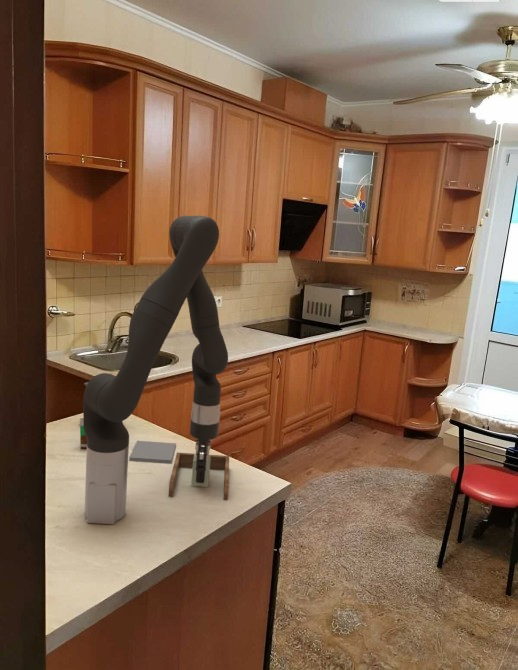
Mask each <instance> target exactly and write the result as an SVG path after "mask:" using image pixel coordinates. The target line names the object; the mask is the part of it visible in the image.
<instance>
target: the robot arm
mask: <svg viewBox="0 0 518 670" xmlns="http://www.w3.org/2000/svg"><path fill="white" fill-rule="evenodd" d="M168 235H169V241H170V245H171V248H172V252H173V256H174V257H175V258H174V259H173V261H172V262H171V264H170V265H169V267H167V269H166V270H165V271H164V272H163V273H161V274H160V276H158V277H157V278H156V279H155V280H154V281H153V282H151V284H150V285H149V286H148V287H147V288H146V290H145V291H144V292H143V294H142V296H141V297H140V299H139V301H138V303H137V304H136V307H135V309H134V310H133V312H132V315H131V318H130V321H129V325H128V340H127V341H128V342H127V351H126V354H125V358H124V360H123V361H122V362H123V363H122V365H121V366H120V368H119V371H118V372H117V374H116V375H113V374H112V373H108V372H103V373H98V374H96V375H94V376H93V377H92V378H91V379H90V380H89V381H87V382H88V384H87V386H85V389H84V393H83V397H82V398H83V399H82V401H83V402H82V403H83V404H82V406H83V407H82V408H83V409H82V411H83V414H82V415H83V422H84V432H85V435H86V438H87V449H86V459H85V487H84V488H85V491H84V493H85V495H84V517H85V518H86V523H88V524H99V525H100V524H103V525H115V524H116V522H118V521H120V520H121V519H123V518H124V516H125V515H126V512H127V511H126V510H127V509H126V508H127V488H128V471H129V470H128V468H129V452H130V451H129V449H130V434H129V431H128V429H127V427H126V426H125V424H124V421H126V419H128V418H129V417H130V416H131V415H132V414H133V413H134V411H135V409H136V408H137V406H138V404H139V402H140V400H141V398H142V397H141V396H142V394H143V392H144V390H145V386H146V384H147V381H148V378H149V376H150V374H151V371H152V368H153V366H154V365H155V362H156V360H157V358H158V356H159V354H160V352H161V349H162V347H163V346H164V342H165V341H166V339H167V338H168V335H169V334H170V332H171V330H172V328H173V326H174V324H175V322H176V319H177V318H178V316H179V313H180V311H181V309H182V307H183V305H184V303H185V302H186V300H187V307H188V313H189V319H190V325H191V329H192V334H193V335H194V337H195V338H196V339H197V341H198V343H199V344H197V345H196V346H195V347H194V349H193V351H192V355H191V369H192V378H193V383H194V388H193V396H192V397H193V398H192V400H193V401H192V405H191V416H190V425H189V427H190V428H189V434H190V436H191V437H192V438H194V439H196V441H195V447H194V449H195V454H196V456H195V460H196V461H197V462H196V471H197V473H196V482H197V483H204V478H205V470H206V462H207V461H208V458H209V455H210V451H211V445H212V440H214V439H217V437H218V436H219V429H220V418H221V395H222V385H221V383H220V381H219V380H218V378H217V375H220V374H222V373H224V371H225V370H226V369H227V366H228V364H229V352H228V349H227V345H226V343H225V338H224V336H223V333H222V331H221V328H220V319H219V312H218V305H217V301H216V298H215V296H214V294H213V291H212V289H211V287H210V285H209V284H208V281H207V279H206V276H205V274H204V271H203V269H204V268H205V266H206V264H207V263H208V261H209V260H210V258H211V256H212V255H213V253H214V251H215V250H216V247H217V245H218V243H219V238H220V229H219V225H218V224H217V222H216V220H215V219H213V218H211V217H209V216H206V215H181V216H178V217H177V218H175V219H174V220H173V221H172V223H171V225H170V228H169V234H168ZM206 456H207V457H206ZM199 464H200V465H199ZM198 465H199V466H198ZM202 465H204V466H202Z"/></svg>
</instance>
